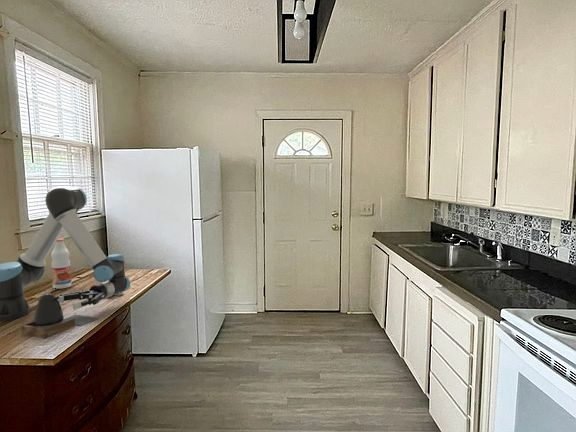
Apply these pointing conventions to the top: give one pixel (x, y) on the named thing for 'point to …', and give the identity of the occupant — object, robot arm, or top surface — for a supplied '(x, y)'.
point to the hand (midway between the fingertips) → (61, 304)
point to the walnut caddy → (46, 333)
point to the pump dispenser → (48, 312)
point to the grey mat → (80, 319)
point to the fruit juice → (60, 265)
